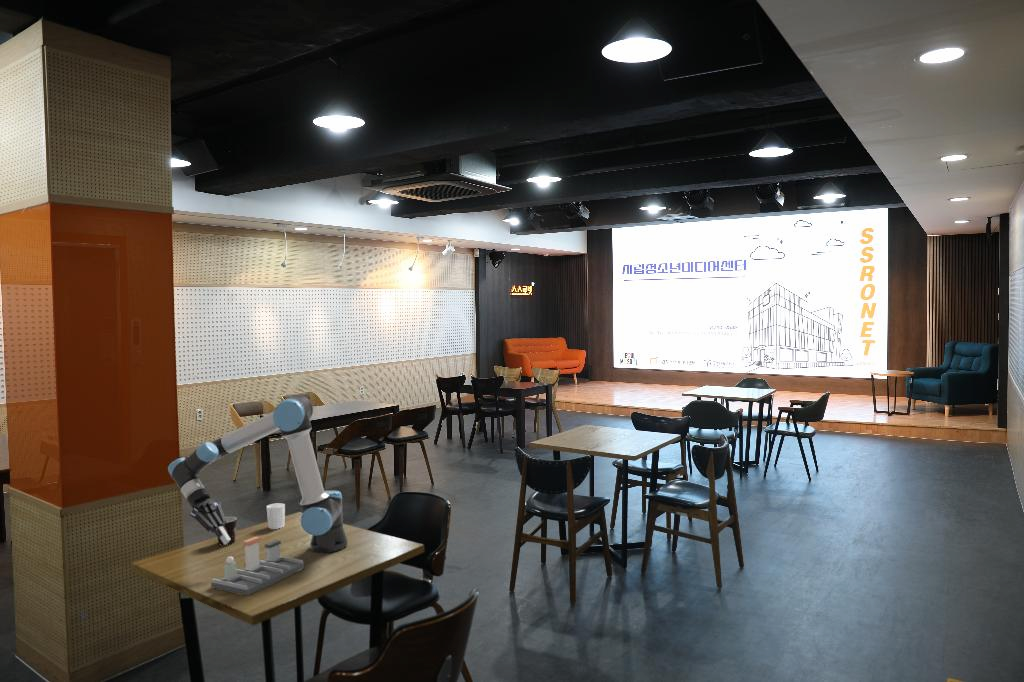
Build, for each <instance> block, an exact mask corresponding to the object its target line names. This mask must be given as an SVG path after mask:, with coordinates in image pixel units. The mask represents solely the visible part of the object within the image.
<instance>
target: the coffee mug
mask: <svg viewBox="0 0 1024 682" xmlns="http://www.w3.org/2000/svg"><path fill="white" fill-rule="evenodd" d="M225 519H226V521H227V522H226V524H225V525H224V527H225V529H226V530H227V532H228V533H227V534H228V536H229V537H230V539H231V540H230V541H229V543H228V544H231V545H233V544H235V543H234V542H236V534H237V533H236V531H237V530H236V529H237V517H235V516H225ZM216 537H217V536H216ZM217 542H218V545H219V544H221V545H224V543H223V542H222V540H221V539H220V537H217ZM232 543H233V544H232ZM221 545H220V546H221ZM226 546H228V545H227V544H226Z"/></svg>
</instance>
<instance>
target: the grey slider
mask: <svg viewBox="0 0 1024 682" xmlns="http://www.w3.org/2000/svg"><path fill="white" fill-rule="evenodd" d="M281 543H282V540H279V539H274V540H272V541H270V542H268V543H266V544H264V548H265V549H266V558H267V559H266V558H265V559H266V560H265V561H267V562H272V563H276V562H278V561H280V560H282V557H280V556H281V549H280V548H281V547H280V545H281Z"/></svg>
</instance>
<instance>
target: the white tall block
mask: <svg viewBox="0 0 1024 682" xmlns="http://www.w3.org/2000/svg"><path fill="white" fill-rule="evenodd" d="M260 542H261V537H260V536H254V537H251V538H248V539H245V540H243V544H242V545H243V547H244V555H245V557H244V558H245V559H244V560H245V567H246V568H245V567H244V568H245V569H244V570H245V571H250V572H256V571H258V570H260V569H262V566H260V560H261V559H260V545H259V544H260Z"/></svg>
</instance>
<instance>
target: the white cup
mask: <svg viewBox="0 0 1024 682" xmlns="http://www.w3.org/2000/svg"><path fill="white" fill-rule="evenodd" d="M266 514H267V524H268V529H269V528H270V529H269V530H280V529H283V528H284V527H285V520H286V518H285V517H286V504H285V503H284V502H283V503H281V502H278V503H277V502H275V503H271V504H268V505H266ZM272 521H273V522H272ZM282 527H283V528H282ZM279 528H280V529H279Z"/></svg>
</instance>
